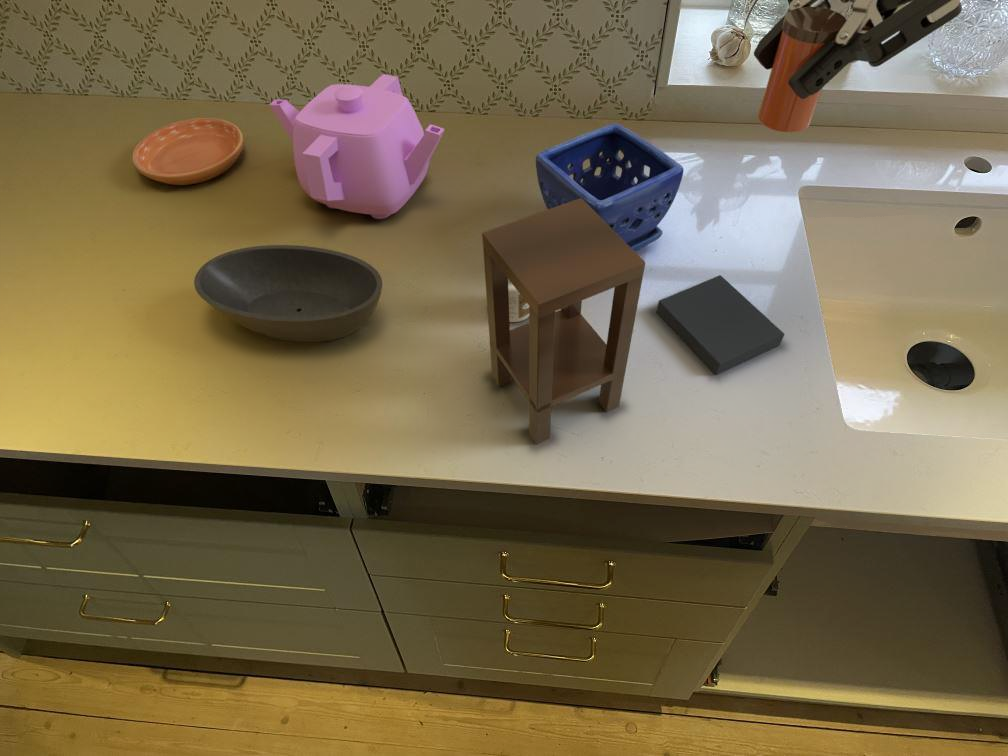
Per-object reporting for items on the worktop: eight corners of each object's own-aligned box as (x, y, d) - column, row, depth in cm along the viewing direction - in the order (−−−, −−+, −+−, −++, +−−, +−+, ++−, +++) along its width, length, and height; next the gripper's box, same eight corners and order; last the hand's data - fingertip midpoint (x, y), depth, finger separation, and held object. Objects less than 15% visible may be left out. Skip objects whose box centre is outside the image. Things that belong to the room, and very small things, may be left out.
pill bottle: (529, 325, 76) (529, 276, 70) (492, 321, 77) (489, 272, 71) (535, 299, 79) (535, 249, 73) (499, 295, 79) (497, 246, 73)
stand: (619, 407, 68) (645, 262, 53) (536, 445, 66) (538, 304, 50) (570, 344, 74) (581, 197, 58) (492, 377, 71) (481, 232, 56)
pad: (779, 345, 73) (785, 333, 71) (715, 375, 71) (719, 364, 69) (716, 286, 79) (720, 274, 78) (655, 312, 77) (658, 300, 75)
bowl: (239, 276, 83) (221, 237, 78) (404, 294, 80) (396, 255, 75) (194, 345, 76) (171, 308, 71) (374, 369, 73) (363, 331, 68)
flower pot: (530, 231, 87) (530, 151, 78) (608, 196, 91) (617, 117, 82) (590, 288, 80) (598, 207, 70) (672, 247, 84) (690, 167, 75)
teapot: (455, 209, 90) (444, 106, 79) (330, 250, 86) (298, 147, 74) (406, 143, 101) (389, 44, 90) (292, 176, 97) (259, 76, 85)
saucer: (210, 123, 107) (203, 105, 105) (269, 157, 100) (262, 139, 98) (121, 167, 100) (111, 149, 97) (177, 207, 93) (168, 189, 90)
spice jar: (822, 124, 54) (860, 22, 48) (781, 138, 53) (815, 37, 47) (785, 101, 56) (816, 2, 50) (745, 114, 55) (772, 15, 49)
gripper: (902, -201, 46) (709, 10, 53) (1069, -151, 37) (811, 93, 44) (929, -119, 51) (750, 64, 58) (1083, -57, 42) (849, 147, 49)
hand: (778, 75), depth 51 cm, fingers closed on spice jar, 4 cm apart
